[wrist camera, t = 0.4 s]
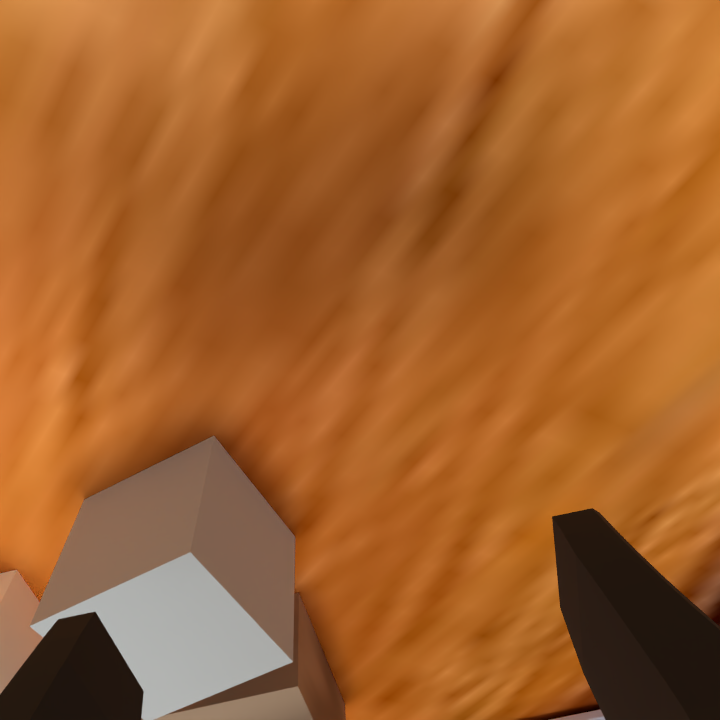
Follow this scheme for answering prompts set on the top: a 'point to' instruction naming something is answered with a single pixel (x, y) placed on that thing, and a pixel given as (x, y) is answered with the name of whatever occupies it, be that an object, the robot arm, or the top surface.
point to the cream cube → (15, 625)
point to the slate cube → (181, 577)
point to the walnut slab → (279, 687)
